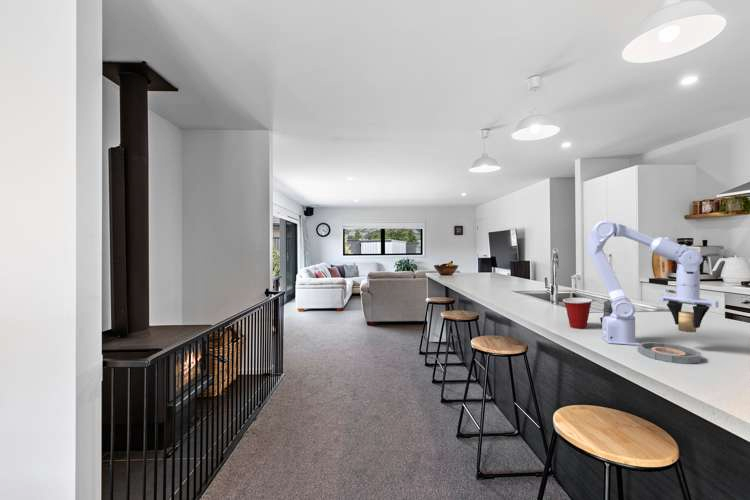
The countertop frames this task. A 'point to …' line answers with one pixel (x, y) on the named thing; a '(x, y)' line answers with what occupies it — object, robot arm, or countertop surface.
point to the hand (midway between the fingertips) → (687, 325)
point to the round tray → (669, 352)
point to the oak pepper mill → (686, 322)
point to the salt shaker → (607, 309)
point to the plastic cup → (578, 311)
